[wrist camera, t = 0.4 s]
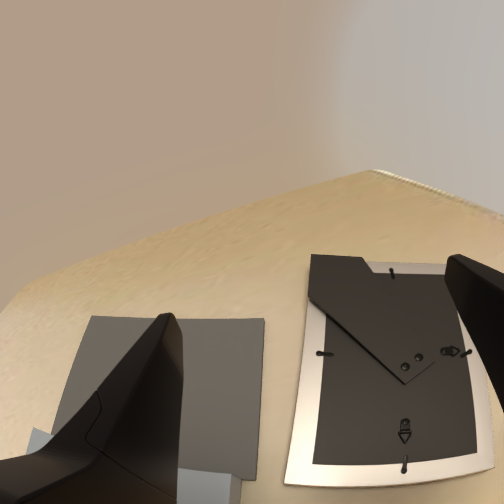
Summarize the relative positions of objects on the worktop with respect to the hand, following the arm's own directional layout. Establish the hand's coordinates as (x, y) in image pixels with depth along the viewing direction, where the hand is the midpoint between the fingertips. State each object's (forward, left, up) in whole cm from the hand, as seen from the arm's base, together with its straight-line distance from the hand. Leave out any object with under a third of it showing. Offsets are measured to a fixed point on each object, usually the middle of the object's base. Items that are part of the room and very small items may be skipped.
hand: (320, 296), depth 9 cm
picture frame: (+5, -8, -17) cm, 19 cm away
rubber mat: (+3, +13, -16) cm, 20 cm away
